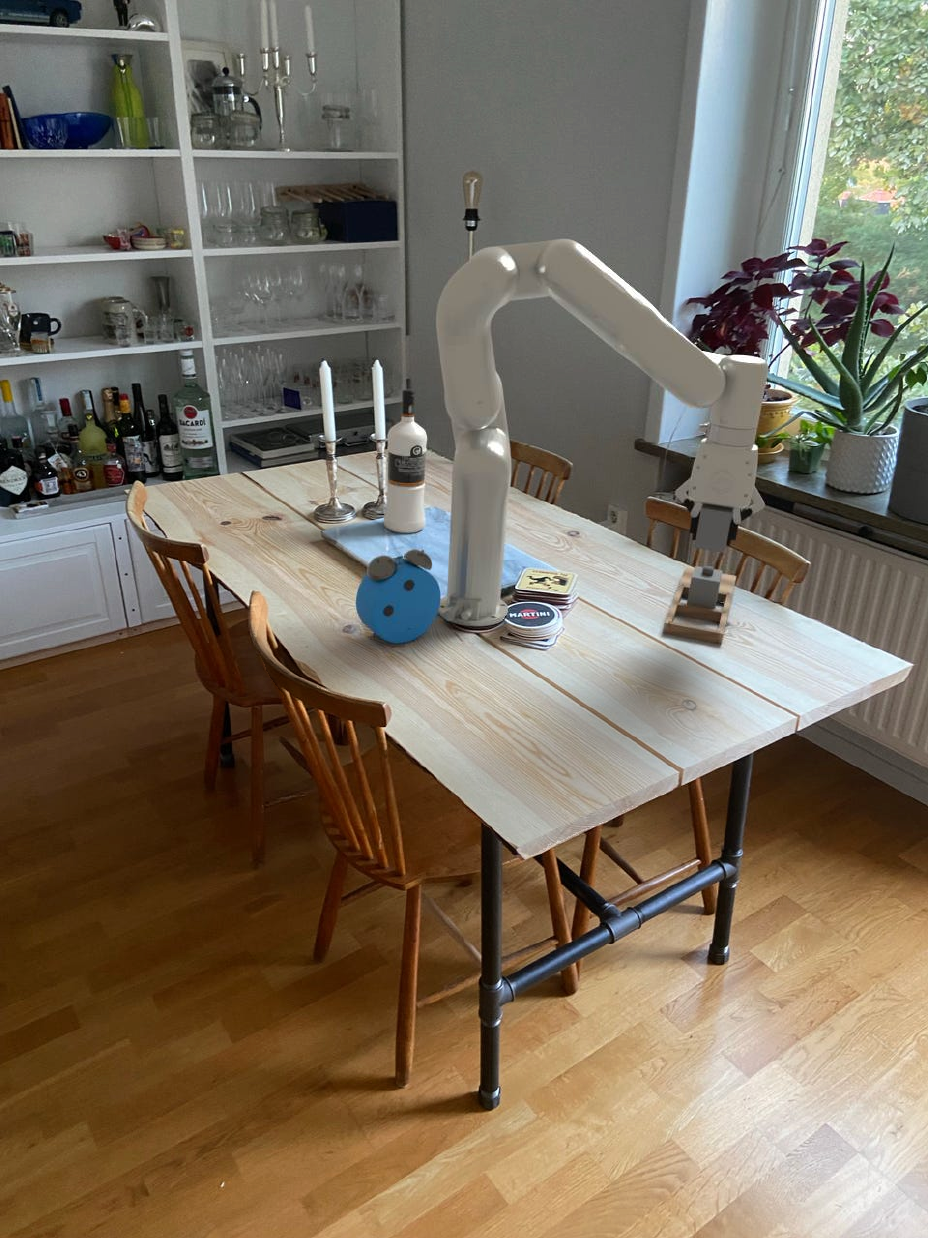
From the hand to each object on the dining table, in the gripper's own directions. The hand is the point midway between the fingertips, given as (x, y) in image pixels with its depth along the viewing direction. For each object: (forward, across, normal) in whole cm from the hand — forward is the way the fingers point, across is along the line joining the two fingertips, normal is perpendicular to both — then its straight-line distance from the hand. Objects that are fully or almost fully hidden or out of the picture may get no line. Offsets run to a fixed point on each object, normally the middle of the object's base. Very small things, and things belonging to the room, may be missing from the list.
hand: (711, 539), depth 155 cm
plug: (+1, 0, 0) cm, 1 cm away
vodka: (+17, -66, +23) cm, 72 cm away
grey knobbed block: (+17, 0, +9) cm, 19 cm away
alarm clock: (+17, -46, -27) cm, 56 cm away
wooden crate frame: (+17, 0, +9) cm, 19 cm away
